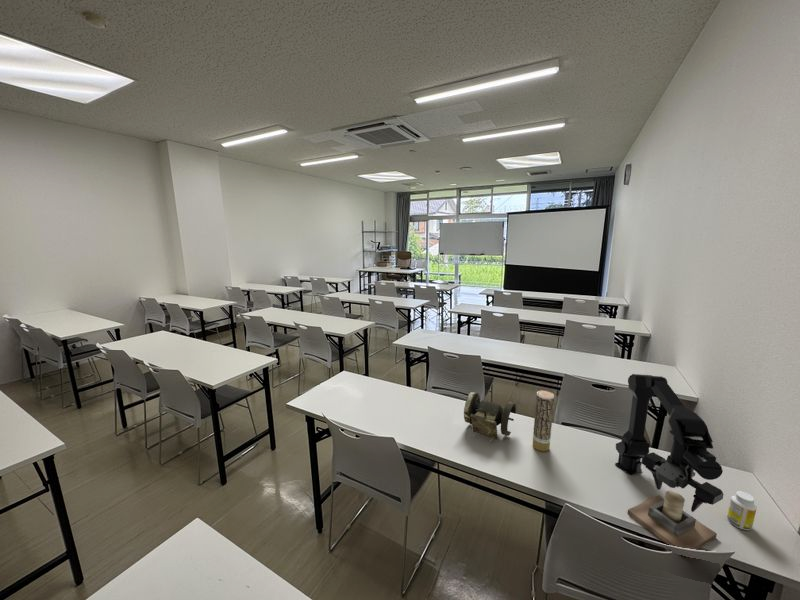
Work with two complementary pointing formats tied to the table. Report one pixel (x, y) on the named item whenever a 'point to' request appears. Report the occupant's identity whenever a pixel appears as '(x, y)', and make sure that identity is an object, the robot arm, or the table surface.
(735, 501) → the supplement bottle
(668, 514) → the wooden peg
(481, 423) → the bench grinder
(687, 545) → the collar socket
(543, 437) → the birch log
